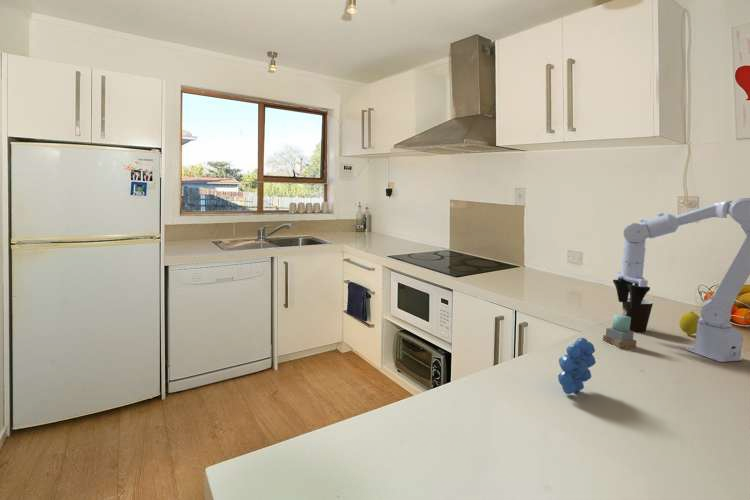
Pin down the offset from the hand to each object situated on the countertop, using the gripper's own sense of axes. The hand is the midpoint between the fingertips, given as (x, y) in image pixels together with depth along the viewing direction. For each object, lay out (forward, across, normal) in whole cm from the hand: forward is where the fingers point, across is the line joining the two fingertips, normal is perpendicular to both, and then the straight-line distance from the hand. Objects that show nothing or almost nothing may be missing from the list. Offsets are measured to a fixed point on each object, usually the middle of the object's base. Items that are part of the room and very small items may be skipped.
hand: (628, 304), depth 125 cm
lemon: (+11, -6, +22) cm, 25 cm away
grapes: (+11, +42, -31) cm, 54 cm away
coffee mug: (+11, -10, +8) cm, 17 cm away
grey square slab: (+8, +8, -6) cm, 13 cm away
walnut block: (+11, +8, -6) cm, 15 cm away
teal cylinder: (+6, +8, -6) cm, 11 cm away
